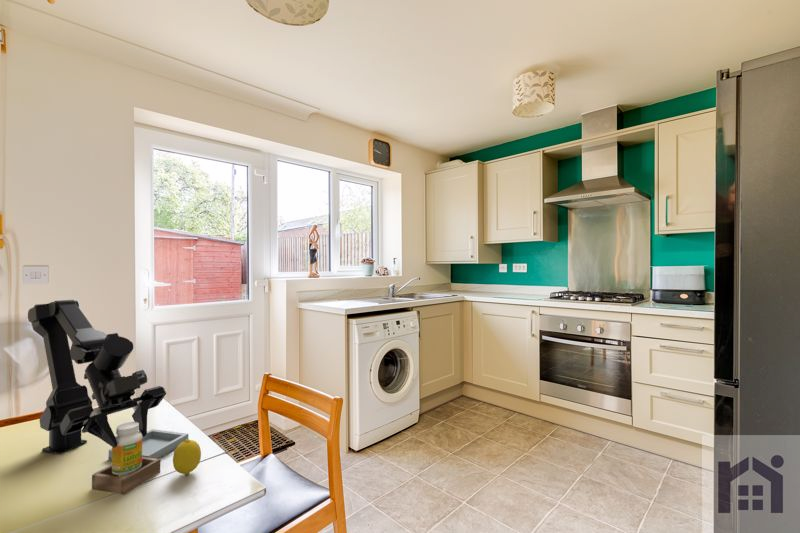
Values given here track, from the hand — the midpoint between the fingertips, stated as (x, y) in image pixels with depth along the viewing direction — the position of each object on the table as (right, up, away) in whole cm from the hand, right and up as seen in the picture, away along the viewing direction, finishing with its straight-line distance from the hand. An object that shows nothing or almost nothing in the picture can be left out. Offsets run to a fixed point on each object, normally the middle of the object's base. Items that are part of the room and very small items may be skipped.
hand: (130, 440), depth 80 cm
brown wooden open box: (-1, -9, +1) cm, 9 cm away
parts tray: (-5, -9, +14) cm, 17 cm away
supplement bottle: (-1, -7, +1) cm, 7 cm away
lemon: (+11, -9, +3) cm, 14 cm away
